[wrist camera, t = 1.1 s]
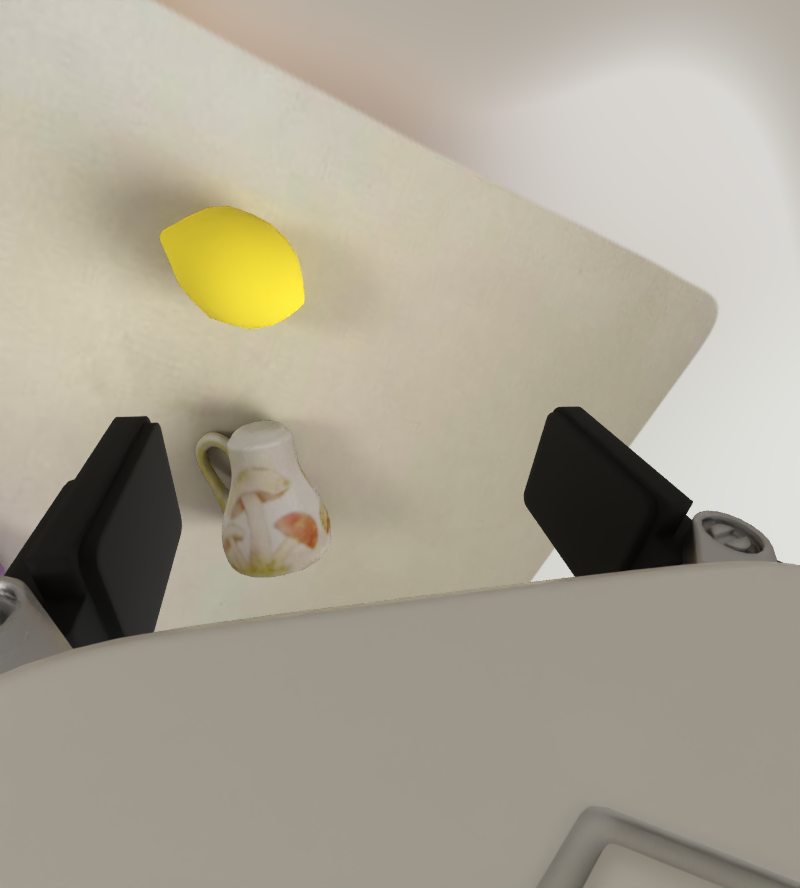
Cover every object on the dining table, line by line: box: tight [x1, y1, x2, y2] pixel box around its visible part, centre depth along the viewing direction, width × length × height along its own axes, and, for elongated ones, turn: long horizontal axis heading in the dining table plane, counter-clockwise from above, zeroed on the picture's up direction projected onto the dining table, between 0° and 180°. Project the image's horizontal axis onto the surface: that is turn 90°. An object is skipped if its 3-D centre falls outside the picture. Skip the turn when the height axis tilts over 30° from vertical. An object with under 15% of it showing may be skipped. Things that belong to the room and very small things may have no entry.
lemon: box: [160, 206, 305, 329], centre depth 22 cm, size 7×5×5 cm
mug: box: [195, 421, 331, 577], centre depth 29 cm, size 8×10×10 cm
